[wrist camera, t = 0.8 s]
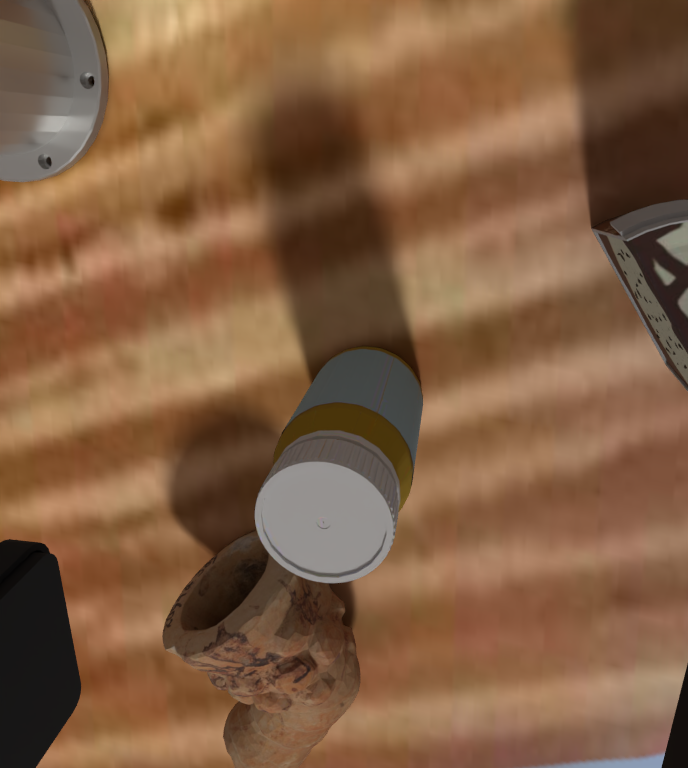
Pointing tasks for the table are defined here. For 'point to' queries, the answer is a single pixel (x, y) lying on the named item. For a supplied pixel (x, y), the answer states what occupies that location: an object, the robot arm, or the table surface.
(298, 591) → the clay pipe
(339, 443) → the bottle
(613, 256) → the food container
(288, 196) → the table surface
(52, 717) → the robot arm
